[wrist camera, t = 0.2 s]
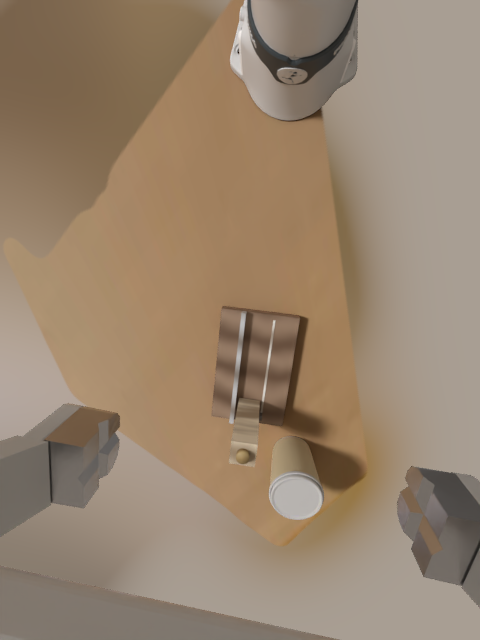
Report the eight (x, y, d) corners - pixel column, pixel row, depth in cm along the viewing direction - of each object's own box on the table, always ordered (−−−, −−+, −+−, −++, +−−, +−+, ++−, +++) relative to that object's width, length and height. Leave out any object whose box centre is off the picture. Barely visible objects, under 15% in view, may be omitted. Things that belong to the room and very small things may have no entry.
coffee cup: (259, 454, 65) (258, 501, 53) (287, 423, 62) (292, 466, 51) (294, 478, 65) (300, 530, 54) (323, 449, 63) (336, 497, 51)
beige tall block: (239, 397, 59) (230, 445, 46) (264, 401, 59) (262, 450, 45) (236, 416, 60) (228, 467, 47) (261, 419, 60) (259, 472, 46)
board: (223, 305, 57) (220, 310, 54) (298, 315, 56) (301, 320, 53) (213, 410, 63) (210, 420, 59) (281, 420, 62) (282, 431, 59)
